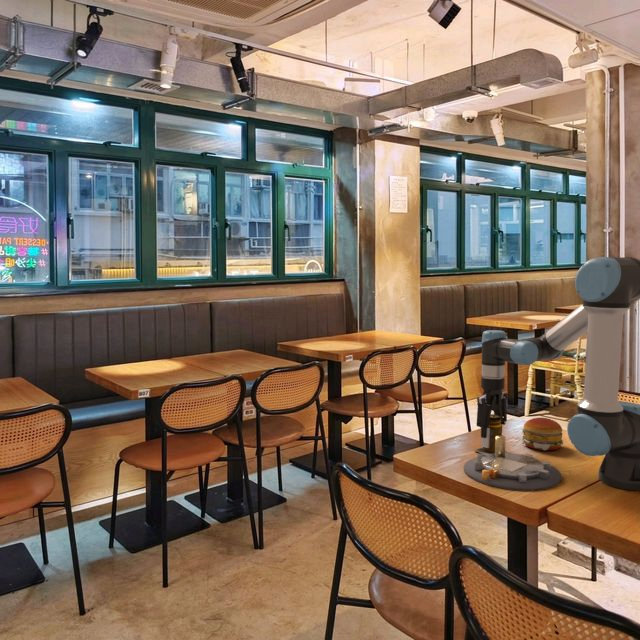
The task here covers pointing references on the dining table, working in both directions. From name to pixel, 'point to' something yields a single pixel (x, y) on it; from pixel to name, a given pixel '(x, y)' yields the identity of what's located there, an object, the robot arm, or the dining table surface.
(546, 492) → the dining table surface
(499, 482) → the base
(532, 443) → the burger
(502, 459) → the grey disc with blocks
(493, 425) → the condiment
